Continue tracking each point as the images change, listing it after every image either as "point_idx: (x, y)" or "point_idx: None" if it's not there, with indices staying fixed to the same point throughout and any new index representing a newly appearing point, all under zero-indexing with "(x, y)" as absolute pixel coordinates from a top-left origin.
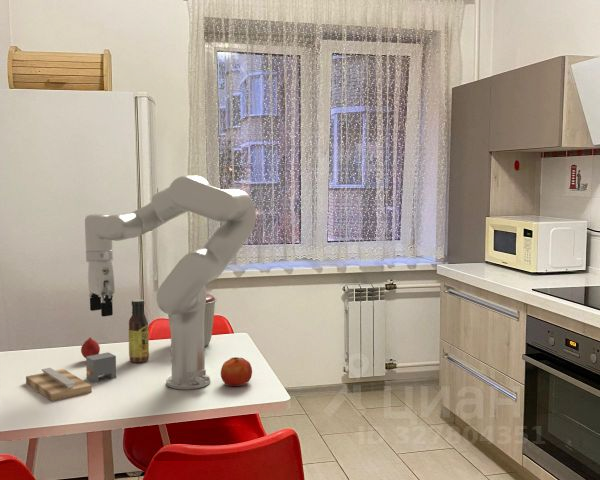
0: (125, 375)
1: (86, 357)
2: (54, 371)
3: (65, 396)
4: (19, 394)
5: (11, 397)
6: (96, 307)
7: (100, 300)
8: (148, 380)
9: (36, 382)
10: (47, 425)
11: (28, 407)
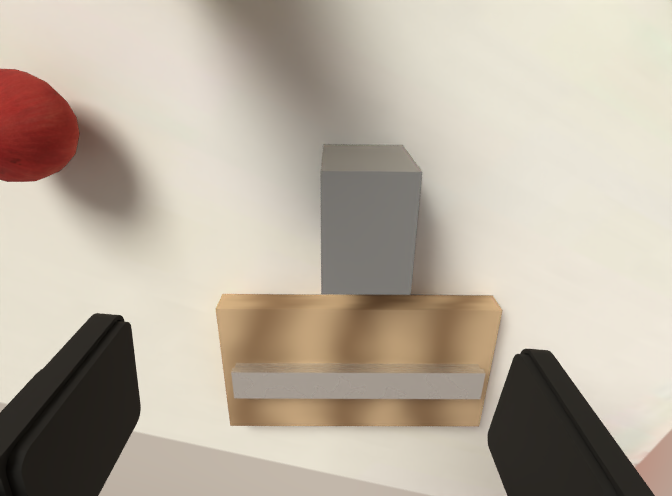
0: (402, 94)
1: (327, 292)
2: (296, 377)
3: None
4: (336, 446)
5: (347, 465)
6: (119, 387)
7: (59, 415)
8: (557, 42)
9: (325, 422)
10: None
11: (465, 459)
